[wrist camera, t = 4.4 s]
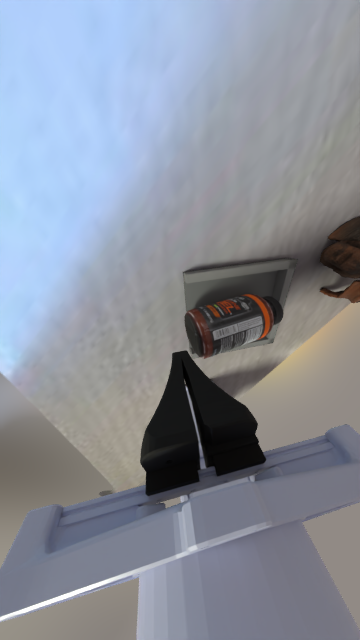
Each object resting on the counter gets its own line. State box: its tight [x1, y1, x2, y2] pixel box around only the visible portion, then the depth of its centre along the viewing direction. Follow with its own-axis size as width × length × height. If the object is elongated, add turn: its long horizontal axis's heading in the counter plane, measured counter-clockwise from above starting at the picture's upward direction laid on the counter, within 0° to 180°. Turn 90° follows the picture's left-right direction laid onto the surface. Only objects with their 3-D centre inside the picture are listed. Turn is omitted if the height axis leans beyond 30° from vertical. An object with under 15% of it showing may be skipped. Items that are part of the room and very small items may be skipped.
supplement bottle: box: [185, 294, 283, 359], centre depth 17 cm, size 6×6×11 cm
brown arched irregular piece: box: [320, 217, 360, 303], centre depth 17 cm, size 12×10×8 cm
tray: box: [183, 258, 298, 359], centre depth 20 cm, size 13×14×2 cm
